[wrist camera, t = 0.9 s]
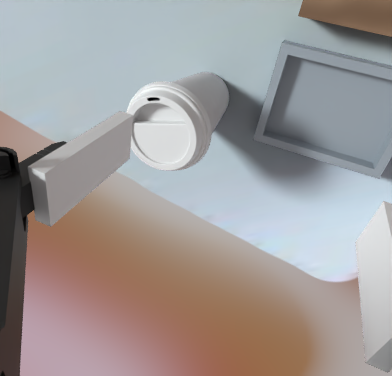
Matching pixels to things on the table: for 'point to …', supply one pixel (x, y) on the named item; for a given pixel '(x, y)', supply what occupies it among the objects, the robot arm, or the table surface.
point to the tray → (329, 108)
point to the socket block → (352, 14)
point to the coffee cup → (177, 120)
